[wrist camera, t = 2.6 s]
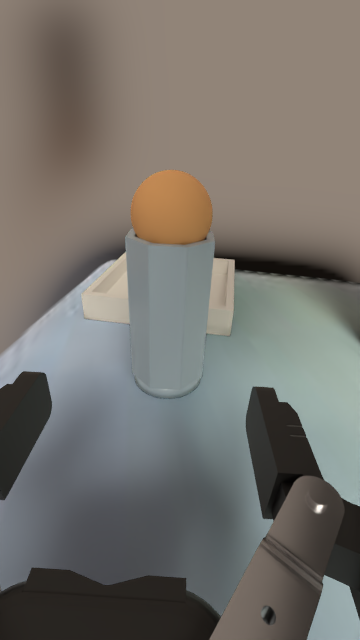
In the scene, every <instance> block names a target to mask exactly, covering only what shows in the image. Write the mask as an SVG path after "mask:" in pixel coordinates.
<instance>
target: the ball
mask: <svg viewBox="0 0 360 640" xmlns="http://www.w3.org/2000/svg"><path fill="white" fill-rule="evenodd" d="M131 221H132V226H133V228H134V231H135V233H136V235H137V237H138V238H140V239H143V240H146V241H149V242H151V243H160V244H180V245H186V244H190V243H195V242H199V241H203V240H204V239H205V238H206V236H207V234H208V232H209V230H210V227H211V223H212V204H211V200H210V197H209V195H208V193H207V191H206V189H205V188H204V186H203V185H202V184H201V183H200V182H199V181H198V180H197V179H196V178H194V177H193V176H191V175H190V174H187V173H185V172H182V171H178V170H165V171H160V172H157V173H155V174H153V175H151V176H150V177H148V178H147V179H146V180H145V181H144V182H142V184H141V185H140V186H139V188H138V189H137V191H136V193H135V195H134V197H133V200H132V204H131Z"/></svg>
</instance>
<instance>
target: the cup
mask: <svg viewBox="0 0 360 640" xmlns="http://www.w3.org/2000/svg"><path fill="white" fill-rule="evenodd" d="M125 238H126V239H125V240H126V260H127V280H128V300H129V321H130V341H131V361H132V373H133V374H134V375H135V382H136V384H137V386H138V387H139V388H140V389H141V390H142V391H143V392H145V393H146V394H148V395H151V396H153V397H157V398H163V399H173V398H179V397H182V396H185V395H187V394H189V393H191V392H192V391H194V390H195V389H196V388H197V386H198V385H199V382H200V378H201V377H202V371H203V361H204V351H205V340H206V330H207V320H208V310H209V299H210V289H211V279H212V269H213V258H214V248H215V240H214V236H213V232H211V231H209V232H208V234H207V236H206V238H205V239H204V240H203V241H199V242H195V243H190V244H186V245H180V244H160V243H151V242H149V241H146V240H143V239H140V238H138V237H137V235H136V233H135V231H134V228H132V229H131V230H130V231H129V233H128V234H127V236H125Z"/></svg>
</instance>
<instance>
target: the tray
mask: <svg viewBox="0 0 360 640" xmlns="http://www.w3.org/2000/svg"><path fill="white" fill-rule="evenodd" d="M234 262H235V260H230V259H219V258H218V259H217V258H213V269H212V279H211V289H210V299H209V310H208V320H207V330H206V333H207V334H215V335H224V336H230V333H231V326H232V319H233V312H234ZM81 296H82V303H83V311H84V319H91V320H99V321H108V322H116V323H124V324H130V321H129V300H128V280H127V260H126V252H125V253H124V254H123V255H122V256H121V257H120V258H119V259H118V260H117V261H116V262H115V263H114V264H113V265H111V266H110V267H109V268H108V269H107V270H106V271H105V272H104V273H103V274H102V275H101V276H100V277H99V278H98V279H97V280H96V281H95V282H94V283H92V284H91V285H90V286H89V287H88V288H87V289H86V290H85V291H84V292H83V293H82V294H81Z"/></svg>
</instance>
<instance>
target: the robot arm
mask: <svg viewBox="0 0 360 640" xmlns="http://www.w3.org/2000/svg"><path fill="white" fill-rule="evenodd" d="M51 409H52V401H51V396H50V391H49V386H48V381H47V377H46V374H45V373H41V372H26V371H24V372H22V373H21V374H20V375H19V376H18V378H17V379H16V380H15V381H14V383H13V384H6V385H5V386H4V387H2V388H1V389H0V500H5V499H6V497H7V495H8V493H9V491H10V490H11V488H12V486H13V484H14V482H15V480H16V478H17V477H18V475H19V473H20V471H21V469H22V467H23V465H24V464H25V462H26V460H27V458H28V456H29V454H30V452H31V451H32V449H33V447H34V445H35V443H36V441H37V439H38V438H39V436H40V434H41V432H42V430H43V428H44V426H45V425H46V423H47V421H48V419H49V417H50V414H51ZM246 432H247V438H248V443H249V448H250V453H251V459H252V464H253V469H254V474H255V480H256V485H257V490H258V495H259V500H260V506H261V511H262V516H263V519H273V520H274V522H273V524H272V526H271V528H270V530H269V532H268V533H267V535H266V537H264V538H263V540H262V541H261V543H260V545H259V547H258V548H257V550H256V552H255V554H254V556H253V558H252V560H251V562H250V564H249V565H248V567H247V569H246V571H245V573H244V575H243V577H242V579H241V581H240V582H239V584H238V586H237V588H236V590H235V592H234V594H233V596H232V598H231V599H230V601H229V603H228V605H227V607H226V609H225V611H224V613H223V615H222V617H221V616H220V615H219V614H218V613H217V612H216V611H215V610H214V609H213V608H212V607H211V606H210V605H209V604H208V603H207V602H206V601H204V600H203V599H202V598H200V597H198V596H197V595H195V594H193V593H191V592H189V591H187V590H186V578H176V577H162V576H144V577H140V578H136V579H132V580H128V581H124V582H120V583H116V584H112V585H103V584H100V583H98V582H96V581H93V580H91V579H89V578H87V577H84V576H82V575H80V574H77V573H75V572H73V571H70V570H59V569H45V568H32V569H31V571H30V574H29V577H28V579H27V581H24V582H21V583H19V584H16V585H13V586H11V587H9V588H7V589H5V590H4V591H1V587H0V640H307V636H308V633H309V630H310V627H311V624H312V621H313V618H314V615H315V612H316V609H317V605H318V602H319V599H320V596H321V593H322V589H323V583H322V580H323V577H324V575H326V576H328V577H330V578H333V579H335V580H337V581H339V582H342V583H344V584H346V585H348V586H349V587H350V590H351V593H352V597H353V600H354V603H355V606H356V609H357V613H358V616H359V619H360V506H357V505H354V504H352V503H350V502H347V501H346V500H344V499H342V498H341V497H340V495H339V493H338V492H337V491H336V490H335V489H334V487H332V486H331V485H330V484H329V483H327V482H326V481H324V479H323V477H322V475H321V472H320V470H319V467H318V465H317V462H316V460H315V457H314V455H313V452H312V449H311V447H310V444H309V442H308V439H307V438H306V434H305V432H304V429H303V428H302V424H301V422H300V419H299V417H298V414H297V413H296V411H295V410H294V409H293V408H292V407H291V406H290V405H289V404H288V403H287V402H279V401H278V398H277V395H276V392H275V390H274V388H268V387H253V388H252V391H251V396H250V401H249V405H248V410H247V415H246Z"/></svg>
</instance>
